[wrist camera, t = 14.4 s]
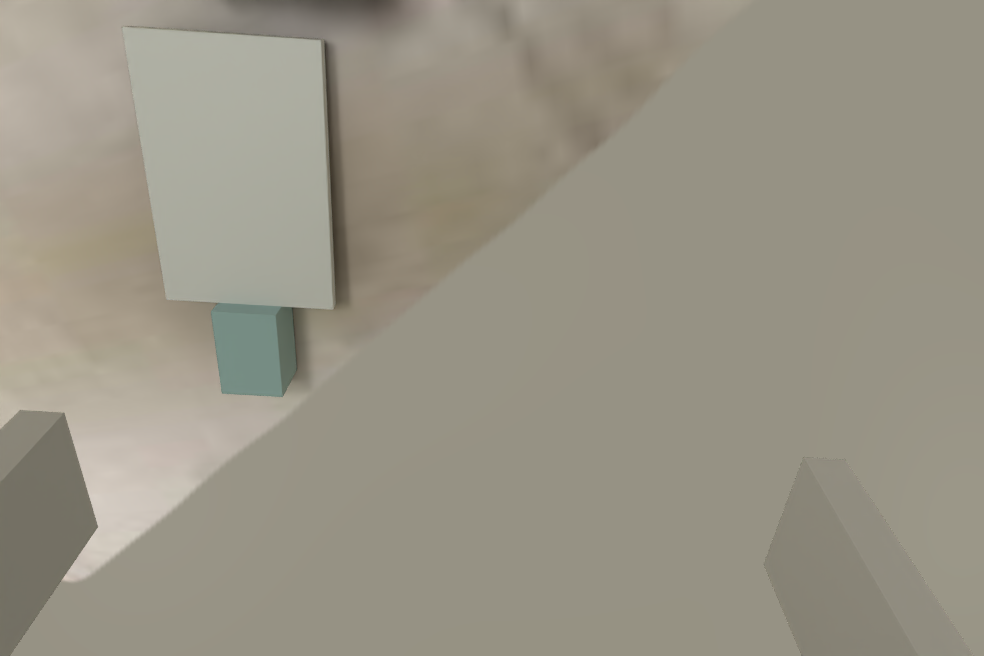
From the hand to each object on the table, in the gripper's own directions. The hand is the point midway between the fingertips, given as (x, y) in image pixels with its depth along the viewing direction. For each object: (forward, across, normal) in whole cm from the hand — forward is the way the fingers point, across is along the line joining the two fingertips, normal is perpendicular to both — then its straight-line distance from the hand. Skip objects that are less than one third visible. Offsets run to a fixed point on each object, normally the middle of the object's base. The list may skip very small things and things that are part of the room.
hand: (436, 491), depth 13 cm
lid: (+32, -14, -8) cm, 36 cm away
